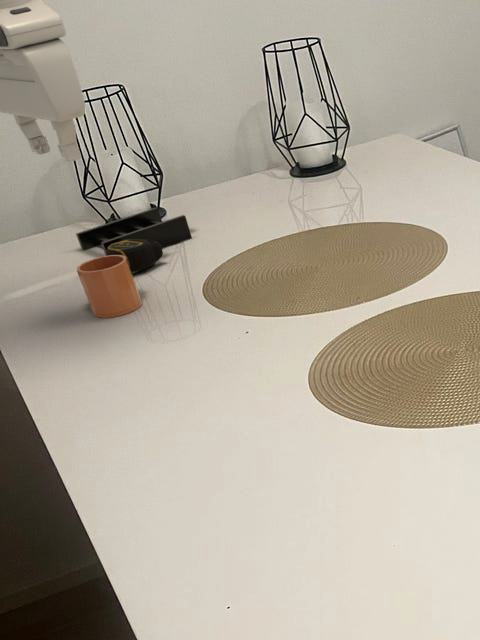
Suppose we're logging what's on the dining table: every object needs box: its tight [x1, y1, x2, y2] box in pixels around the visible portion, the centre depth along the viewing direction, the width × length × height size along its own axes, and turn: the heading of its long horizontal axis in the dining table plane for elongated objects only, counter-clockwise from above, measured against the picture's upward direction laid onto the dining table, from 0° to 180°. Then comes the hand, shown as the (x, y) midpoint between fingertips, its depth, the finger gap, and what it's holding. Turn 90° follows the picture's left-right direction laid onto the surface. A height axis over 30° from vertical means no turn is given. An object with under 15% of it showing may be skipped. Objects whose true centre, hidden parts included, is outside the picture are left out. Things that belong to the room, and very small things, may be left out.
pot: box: [76, 255, 143, 319], centre depth 126 cm, size 6×6×6 cm
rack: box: [75, 207, 193, 256], centre depth 149 cm, size 14×10×3 cm
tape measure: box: [106, 239, 164, 274], centre depth 140 cm, size 7×7×4 cm
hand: (57, 156), depth 116 cm, fingers open, 8 cm apart
